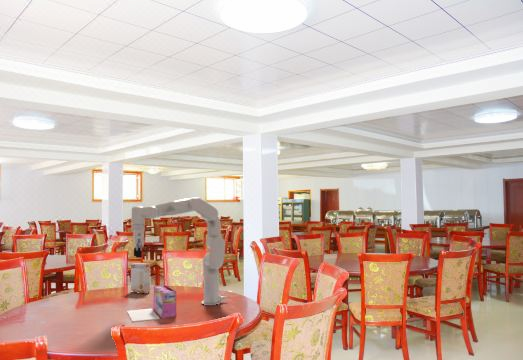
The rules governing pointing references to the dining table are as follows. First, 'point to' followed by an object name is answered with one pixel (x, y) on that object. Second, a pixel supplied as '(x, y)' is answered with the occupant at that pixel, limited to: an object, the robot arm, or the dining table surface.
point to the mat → (142, 315)
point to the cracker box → (140, 277)
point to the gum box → (165, 301)
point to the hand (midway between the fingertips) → (137, 256)
